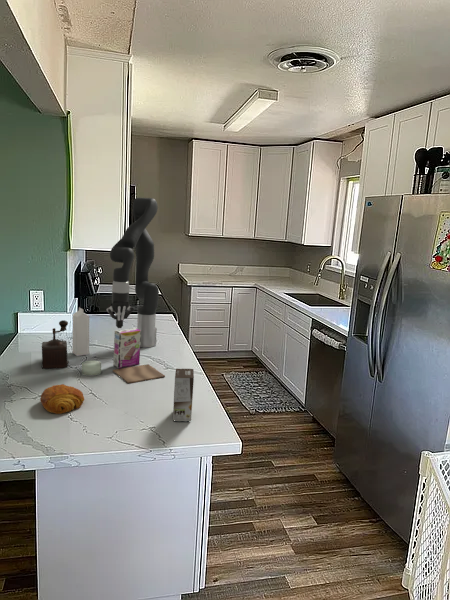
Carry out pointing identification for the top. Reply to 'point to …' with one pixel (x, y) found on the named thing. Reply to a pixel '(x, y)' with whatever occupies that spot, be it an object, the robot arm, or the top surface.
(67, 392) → the croissant
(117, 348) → the candy bar box
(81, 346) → the milk
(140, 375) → the display board
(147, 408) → the top surface
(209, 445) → the top surface
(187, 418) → the coffee box
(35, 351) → the top surface
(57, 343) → the coffee grinder
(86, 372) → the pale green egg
